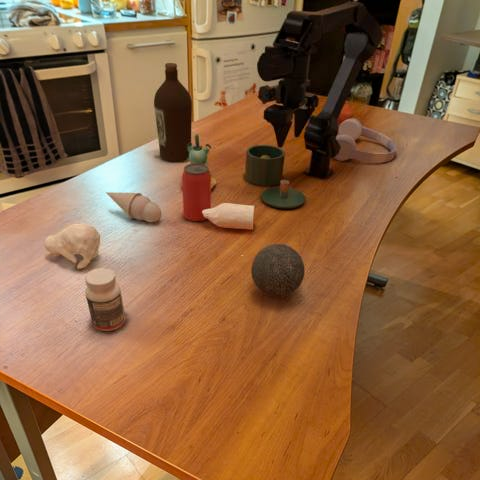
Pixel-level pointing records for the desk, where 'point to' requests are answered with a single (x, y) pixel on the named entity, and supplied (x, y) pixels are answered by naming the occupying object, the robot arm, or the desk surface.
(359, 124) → the headphones
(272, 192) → the bin lid
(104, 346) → the desk surface
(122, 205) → the ice cream cone
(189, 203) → the beer can
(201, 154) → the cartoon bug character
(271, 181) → the bin
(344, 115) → the tomato
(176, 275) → the desk surface
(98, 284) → the pill bottle
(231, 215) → the white bottle
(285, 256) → the decorative ball
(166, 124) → the olive oil
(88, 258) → the beige rounded piece
